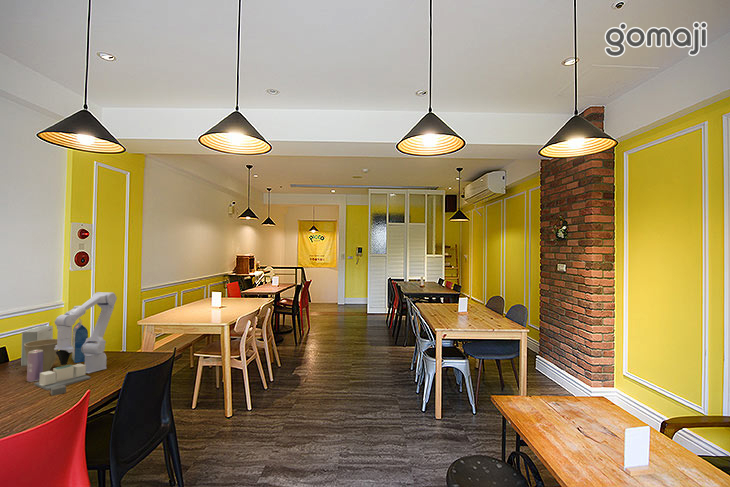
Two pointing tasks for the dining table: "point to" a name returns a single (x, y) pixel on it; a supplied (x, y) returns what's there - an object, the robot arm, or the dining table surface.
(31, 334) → the hard drive box
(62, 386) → the block
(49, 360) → the plant pot
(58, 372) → the block
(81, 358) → the blue food package
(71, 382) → the board
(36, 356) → the beverage can
